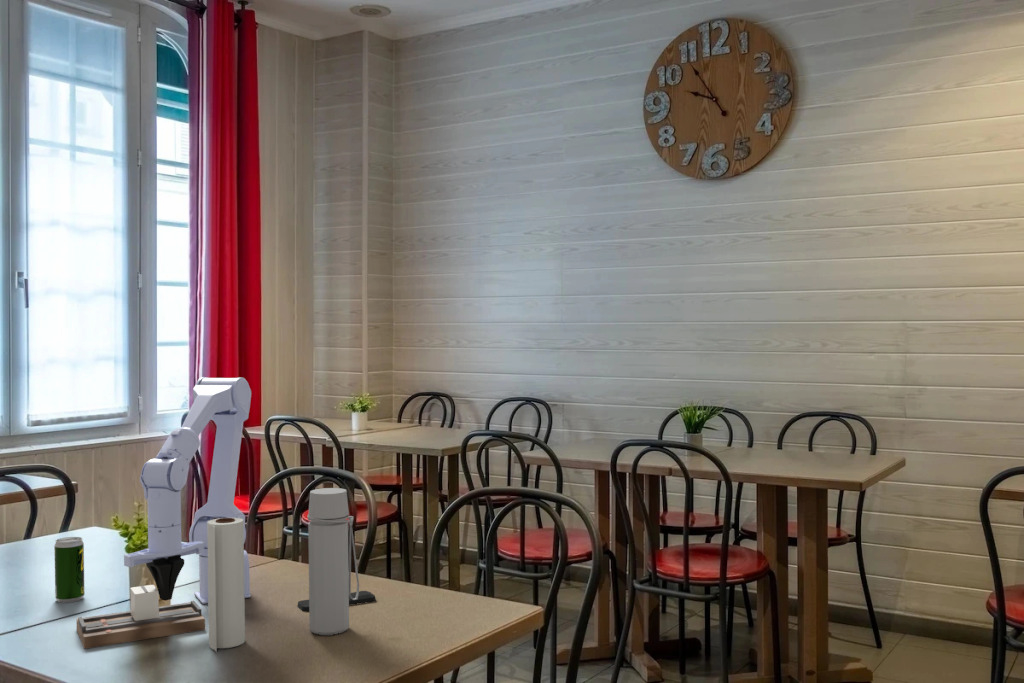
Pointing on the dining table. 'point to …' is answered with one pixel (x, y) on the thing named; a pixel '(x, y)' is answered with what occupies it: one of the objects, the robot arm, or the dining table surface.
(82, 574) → the beer can
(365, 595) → the remote control
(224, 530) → the paper towel roll
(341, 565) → the water bottle
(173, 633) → the console
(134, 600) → the fader knob
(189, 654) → the dining table surface
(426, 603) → the dining table surface
